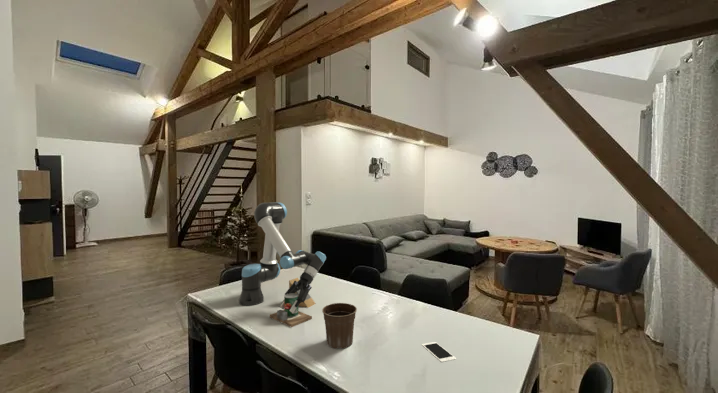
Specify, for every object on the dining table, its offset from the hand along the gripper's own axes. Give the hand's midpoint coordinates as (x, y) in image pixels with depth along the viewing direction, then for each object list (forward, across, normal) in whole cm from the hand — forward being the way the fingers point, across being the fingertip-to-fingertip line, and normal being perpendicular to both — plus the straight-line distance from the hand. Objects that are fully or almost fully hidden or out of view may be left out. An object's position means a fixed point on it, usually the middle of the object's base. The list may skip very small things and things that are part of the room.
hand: (286, 310), depth 173 cm
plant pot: (+4, -41, -4) cm, 41 cm away
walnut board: (+2, 0, -6) cm, 6 cm away
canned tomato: (0, 0, -5) cm, 5 cm away
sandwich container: (-11, +13, -20) cm, 26 cm away
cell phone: (-12, -80, -20) cm, 83 cm away
